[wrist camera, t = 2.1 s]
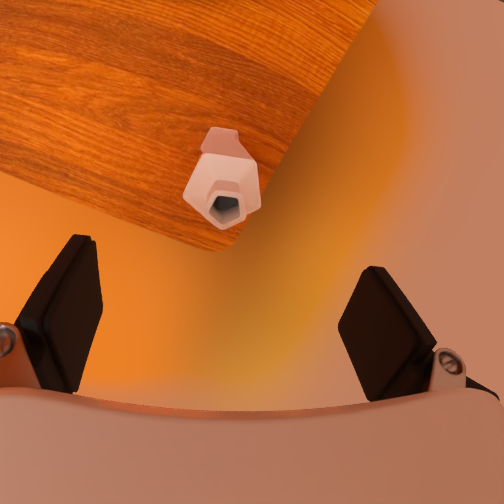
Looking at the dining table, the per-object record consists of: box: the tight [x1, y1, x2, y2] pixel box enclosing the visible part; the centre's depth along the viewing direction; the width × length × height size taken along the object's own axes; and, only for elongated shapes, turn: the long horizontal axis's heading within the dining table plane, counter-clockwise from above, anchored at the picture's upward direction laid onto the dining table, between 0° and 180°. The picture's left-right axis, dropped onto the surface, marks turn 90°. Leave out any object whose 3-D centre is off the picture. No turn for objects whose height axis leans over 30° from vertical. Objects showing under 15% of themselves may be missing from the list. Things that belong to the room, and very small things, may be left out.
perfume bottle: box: [183, 127, 261, 230], centre depth 21 cm, size 5×4×15 cm
